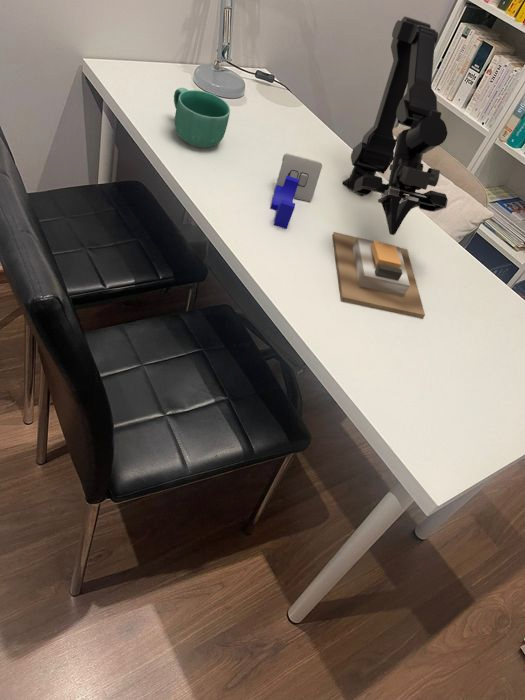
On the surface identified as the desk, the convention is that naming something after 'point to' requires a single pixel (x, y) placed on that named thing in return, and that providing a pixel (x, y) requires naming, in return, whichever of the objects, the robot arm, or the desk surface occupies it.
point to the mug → (200, 117)
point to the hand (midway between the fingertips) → (392, 234)
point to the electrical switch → (300, 175)
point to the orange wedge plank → (385, 254)
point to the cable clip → (284, 201)
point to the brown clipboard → (375, 278)
